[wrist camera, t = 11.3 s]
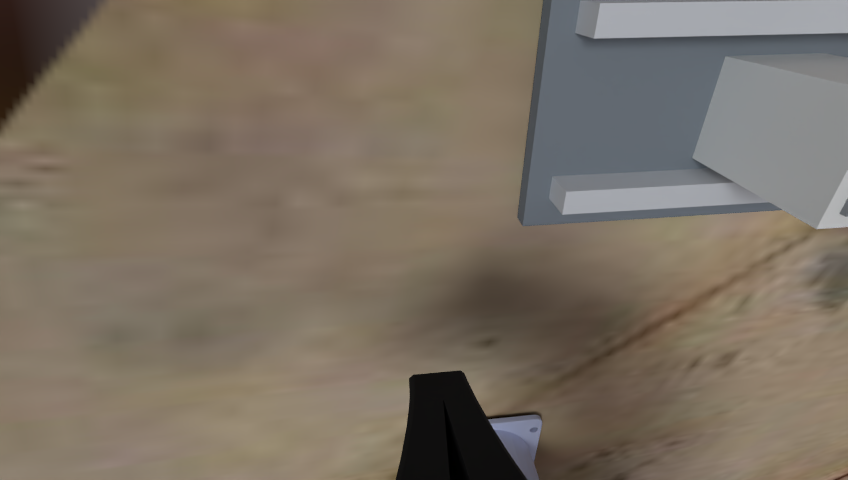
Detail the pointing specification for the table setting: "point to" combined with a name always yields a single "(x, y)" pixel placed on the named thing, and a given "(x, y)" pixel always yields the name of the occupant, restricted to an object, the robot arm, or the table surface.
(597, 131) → the rail dock
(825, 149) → the block
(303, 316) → the table surface
